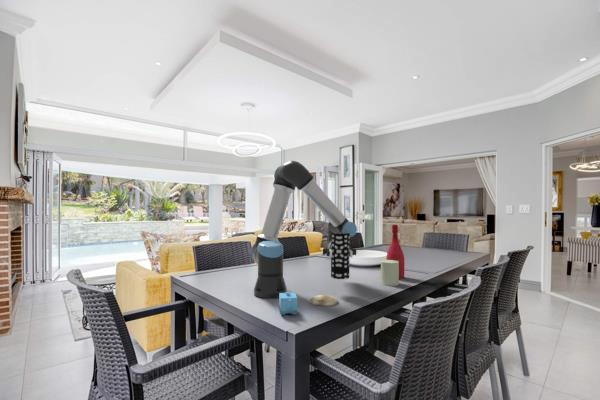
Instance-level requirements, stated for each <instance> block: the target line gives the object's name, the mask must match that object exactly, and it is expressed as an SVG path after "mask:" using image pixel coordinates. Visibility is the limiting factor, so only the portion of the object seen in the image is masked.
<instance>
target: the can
mask: <svg viewBox="0 0 600 400" xmlns="http://www.w3.org/2000/svg"><path fill="white" fill-rule="evenodd" d="M399 280H400V279H399V262H398V261H395V260H386V259H382V260H380V284H381V285H384V286H389V287H390V286H391V287H395V286H399V285H400V281H399Z"/></svg>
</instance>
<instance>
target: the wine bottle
mask: <svg viewBox="0 0 600 400" xmlns="http://www.w3.org/2000/svg"><path fill="white" fill-rule="evenodd" d="M391 233H392V237H391V244H390V245H389V248H388V249H387V253H386V258H385V260H395V261H398V262H399V280H402V279H404V278H405V268H406V267H405V256H404V251H403V248H402V247H401V244H400V242H399V234H398V233H399V226H398V225H397V224H392V225H391Z"/></svg>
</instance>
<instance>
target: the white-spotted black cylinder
mask: <svg viewBox="0 0 600 400" xmlns="http://www.w3.org/2000/svg"><path fill="white" fill-rule="evenodd" d="M350 239H351V237H350V233H341V232H335V233H331V250H332V257H330V278H332V279H335V280H348V279H349V278H350V256H349V251H350V247H351V246H350V241H351V240H350Z"/></svg>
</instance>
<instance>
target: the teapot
mask: <svg viewBox="0 0 600 400" xmlns="http://www.w3.org/2000/svg"><path fill="white" fill-rule="evenodd" d="M278 298H279V299H278V303H279V306H278V307H279V312H280V314H281V315H282V316H285V315H286V314H287V315H288V314H291V315H294V316H295V315H296V314H298V296H297V294H296V292H290V291H287V292H286V293H279V297H278Z"/></svg>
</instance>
